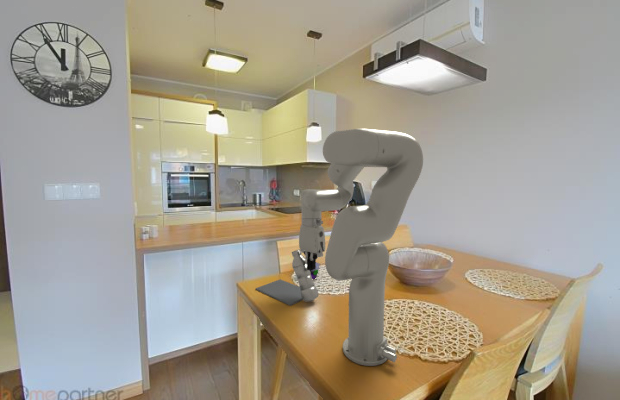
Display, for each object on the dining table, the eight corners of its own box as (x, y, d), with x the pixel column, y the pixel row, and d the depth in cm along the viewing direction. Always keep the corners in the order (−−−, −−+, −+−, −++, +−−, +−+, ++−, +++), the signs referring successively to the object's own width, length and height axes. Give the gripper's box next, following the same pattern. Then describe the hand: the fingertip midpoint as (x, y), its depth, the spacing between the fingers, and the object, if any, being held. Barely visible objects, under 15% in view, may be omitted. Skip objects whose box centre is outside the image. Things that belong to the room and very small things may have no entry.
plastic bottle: (301, 303, 105) (286, 254, 109) (317, 297, 107) (301, 249, 112) (306, 304, 99) (289, 252, 103) (322, 297, 102) (305, 246, 106)
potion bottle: (314, 283, 123) (314, 257, 122) (298, 279, 128) (298, 254, 127) (323, 277, 131) (323, 253, 130) (308, 274, 135) (308, 250, 134)
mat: (314, 294, 112) (314, 292, 112) (290, 305, 101) (290, 304, 101) (280, 280, 127) (280, 279, 126) (255, 289, 116) (255, 288, 116)
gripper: (333, 223, 99) (332, 271, 100) (304, 218, 109) (304, 262, 110) (319, 226, 93) (319, 277, 95) (290, 221, 103) (290, 267, 105)
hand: (311, 269), depth 103 cm, fingers closed
